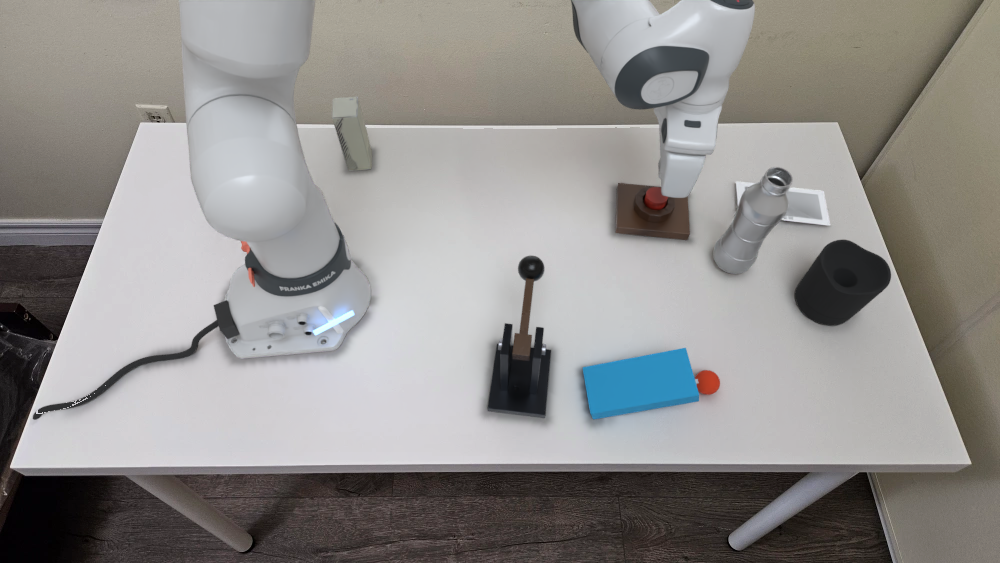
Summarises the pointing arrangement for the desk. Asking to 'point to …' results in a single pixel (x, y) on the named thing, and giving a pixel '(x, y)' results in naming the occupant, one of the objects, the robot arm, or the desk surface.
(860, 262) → the pen holder
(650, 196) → the button
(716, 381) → the blue block with knob
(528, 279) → the lever
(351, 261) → the robot arm
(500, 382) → the bracket
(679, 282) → the desk surface
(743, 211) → the plastic bottle
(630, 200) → the button block
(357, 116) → the box
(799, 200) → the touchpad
